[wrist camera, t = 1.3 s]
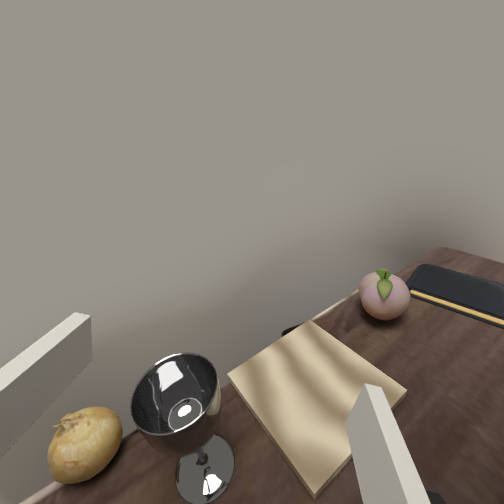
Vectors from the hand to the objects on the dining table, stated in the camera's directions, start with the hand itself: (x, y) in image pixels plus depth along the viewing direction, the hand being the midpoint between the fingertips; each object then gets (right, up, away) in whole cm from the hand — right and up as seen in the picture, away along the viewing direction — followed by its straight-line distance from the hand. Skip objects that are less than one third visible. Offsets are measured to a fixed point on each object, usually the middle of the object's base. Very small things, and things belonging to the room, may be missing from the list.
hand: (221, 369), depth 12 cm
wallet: (+45, -4, +41) cm, 61 cm away
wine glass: (-4, -20, +19) cm, 28 cm away
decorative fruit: (+26, -7, +37) cm, 46 cm away
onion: (-19, -21, +21) cm, 35 cm away
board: (+10, -15, +26) cm, 31 cm away
